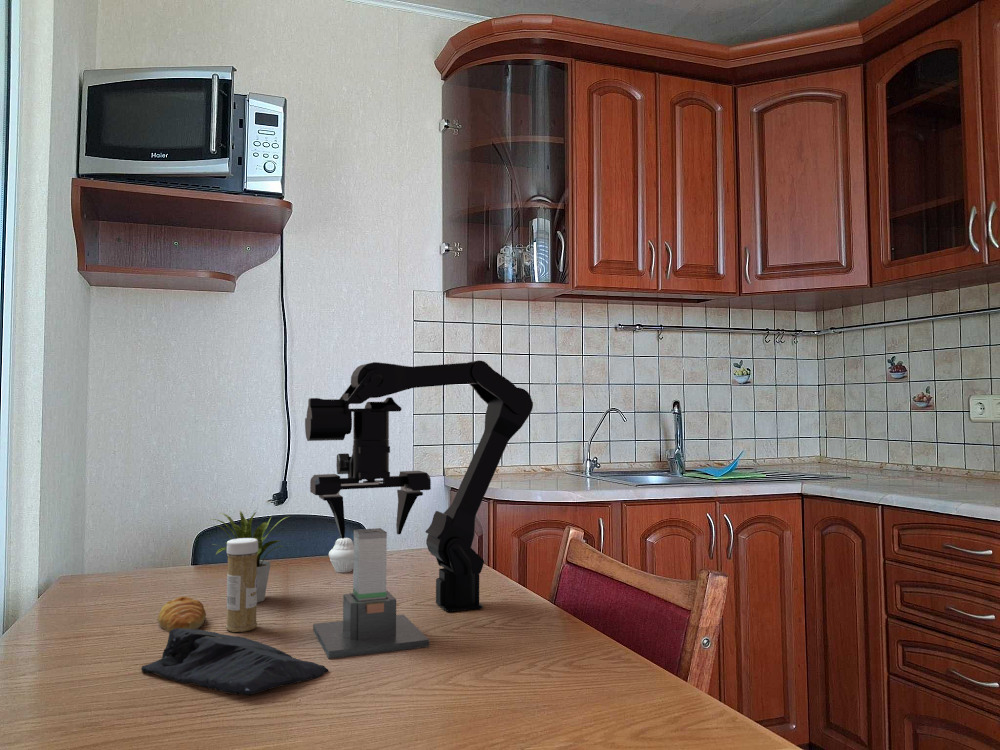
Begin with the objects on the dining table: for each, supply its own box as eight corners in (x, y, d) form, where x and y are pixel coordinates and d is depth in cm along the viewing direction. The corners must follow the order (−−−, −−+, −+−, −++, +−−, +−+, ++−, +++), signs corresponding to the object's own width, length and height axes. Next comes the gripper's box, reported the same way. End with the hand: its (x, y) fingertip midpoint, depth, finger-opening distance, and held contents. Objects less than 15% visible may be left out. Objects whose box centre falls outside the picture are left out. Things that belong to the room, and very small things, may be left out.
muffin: (355, 574, 153) (356, 539, 153) (325, 574, 153) (325, 539, 154) (361, 568, 159) (361, 534, 160) (332, 567, 159) (332, 534, 160)
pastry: (212, 631, 115) (212, 606, 115) (163, 638, 111) (163, 612, 112) (200, 616, 123) (201, 593, 123) (155, 623, 119) (155, 598, 120)
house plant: (179, 605, 129) (181, 508, 130) (236, 587, 142) (237, 499, 142) (246, 614, 124) (248, 513, 124) (299, 594, 136) (300, 503, 137)
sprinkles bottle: (260, 629, 115) (262, 540, 116) (229, 634, 112) (231, 543, 113) (252, 622, 119) (253, 536, 119) (222, 627, 116) (223, 538, 117)
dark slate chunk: (233, 714, 85) (234, 671, 85) (131, 673, 98) (132, 635, 98) (338, 675, 97) (339, 637, 97) (235, 643, 110) (236, 610, 110)
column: (379, 595, 114) (380, 528, 114) (386, 601, 110) (386, 532, 110) (353, 597, 112) (353, 529, 113) (358, 604, 109) (359, 534, 109)
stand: (403, 620, 120) (403, 582, 120) (429, 646, 107) (429, 603, 107) (313, 630, 115) (313, 590, 115) (328, 659, 102) (329, 613, 102)
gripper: (412, 436, 135) (412, 525, 134) (305, 439, 128) (304, 532, 127) (431, 439, 125) (431, 535, 124) (316, 441, 117) (315, 543, 117)
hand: (371, 536), depth 123 cm, fingers open, 9 cm apart
